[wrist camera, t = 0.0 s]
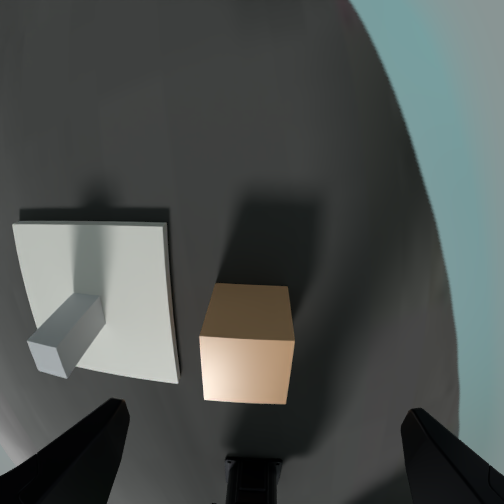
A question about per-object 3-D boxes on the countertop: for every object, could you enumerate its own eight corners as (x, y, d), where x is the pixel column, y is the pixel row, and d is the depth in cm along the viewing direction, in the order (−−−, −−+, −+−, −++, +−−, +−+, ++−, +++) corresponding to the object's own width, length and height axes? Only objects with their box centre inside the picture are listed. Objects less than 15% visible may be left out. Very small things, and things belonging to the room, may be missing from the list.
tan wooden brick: (282, 343, 25) (285, 404, 19) (216, 340, 25) (204, 399, 19) (287, 286, 23) (294, 340, 17) (215, 283, 23) (199, 336, 17)
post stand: (180, 376, 27) (159, 446, 19) (52, 354, 27) (14, 404, 20) (166, 222, 22) (120, 269, 14) (19, 220, 22) (-45, 255, 15)
